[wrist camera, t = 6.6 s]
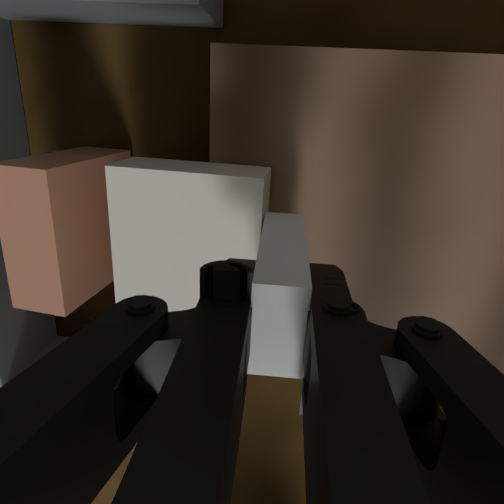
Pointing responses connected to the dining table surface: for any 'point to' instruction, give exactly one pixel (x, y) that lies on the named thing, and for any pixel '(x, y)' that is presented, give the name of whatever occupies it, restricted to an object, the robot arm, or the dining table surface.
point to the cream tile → (180, 223)
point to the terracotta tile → (56, 227)
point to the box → (16, 140)
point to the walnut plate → (380, 170)
